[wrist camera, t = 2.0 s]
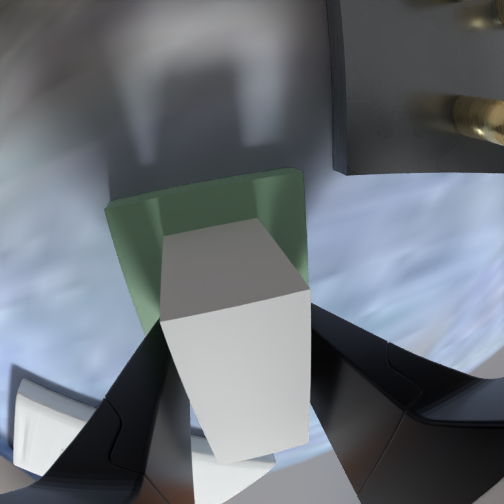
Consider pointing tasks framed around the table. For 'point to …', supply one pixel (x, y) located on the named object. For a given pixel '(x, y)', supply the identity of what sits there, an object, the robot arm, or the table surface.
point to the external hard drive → (77, 415)
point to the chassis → (417, 86)
